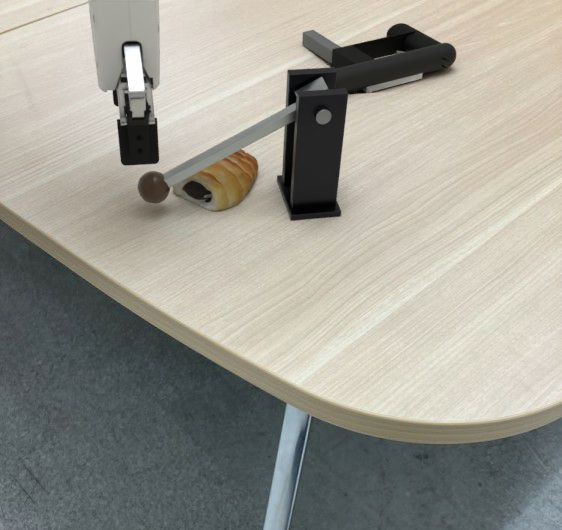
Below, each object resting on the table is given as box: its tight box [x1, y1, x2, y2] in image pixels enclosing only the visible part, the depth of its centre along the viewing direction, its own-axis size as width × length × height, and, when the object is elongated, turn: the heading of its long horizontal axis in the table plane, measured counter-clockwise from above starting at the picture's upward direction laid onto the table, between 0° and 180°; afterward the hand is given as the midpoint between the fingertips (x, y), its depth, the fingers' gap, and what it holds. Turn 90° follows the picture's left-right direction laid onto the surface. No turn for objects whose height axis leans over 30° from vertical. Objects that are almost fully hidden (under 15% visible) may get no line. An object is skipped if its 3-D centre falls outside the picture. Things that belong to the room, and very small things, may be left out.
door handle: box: [301, 22, 457, 94], centre depth 99 cm, size 3×20×16 cm
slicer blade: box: [137, 77, 329, 205], centre depth 72 cm, size 20×3×3 cm, turn 102°
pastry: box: [172, 149, 259, 212], centre depth 79 cm, size 9×7×4 cm
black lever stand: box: [276, 66, 349, 221], centre depth 74 cm, size 5×7×13 cm
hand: (135, 132), depth 70 cm, fingers open, 9 cm apart
